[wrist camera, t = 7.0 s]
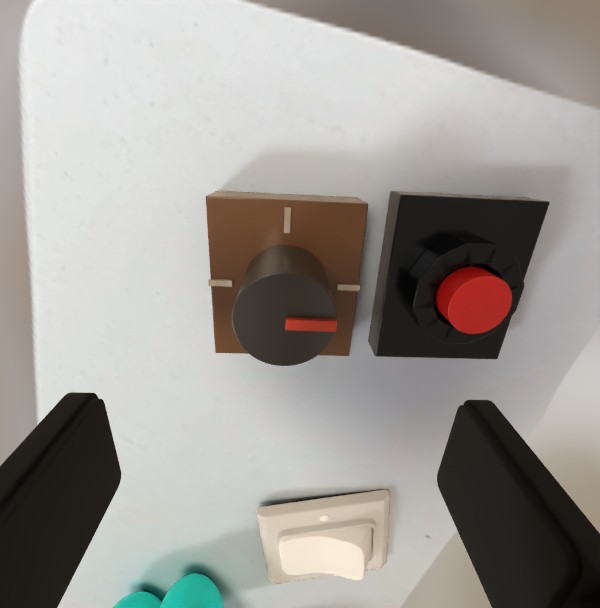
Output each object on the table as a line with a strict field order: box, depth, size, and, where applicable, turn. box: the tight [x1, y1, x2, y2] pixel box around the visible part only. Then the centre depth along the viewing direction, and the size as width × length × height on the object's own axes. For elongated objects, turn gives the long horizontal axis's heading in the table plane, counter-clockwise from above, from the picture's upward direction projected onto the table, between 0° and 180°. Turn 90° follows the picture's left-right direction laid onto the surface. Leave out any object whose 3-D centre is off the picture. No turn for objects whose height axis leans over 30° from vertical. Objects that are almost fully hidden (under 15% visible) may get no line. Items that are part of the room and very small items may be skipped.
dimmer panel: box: [206, 191, 368, 356], centre depth 22 cm, size 10×9×3 cm
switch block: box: [368, 191, 549, 359], centre depth 22 cm, size 11×9×4 cm
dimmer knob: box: [232, 245, 337, 366], centre depth 18 cm, size 5×5×5 cm
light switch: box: [257, 490, 390, 584], centre depth 33 cm, size 11×4×13 cm
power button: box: [436, 266, 512, 334], centre depth 20 cm, size 4×4×2 cm
